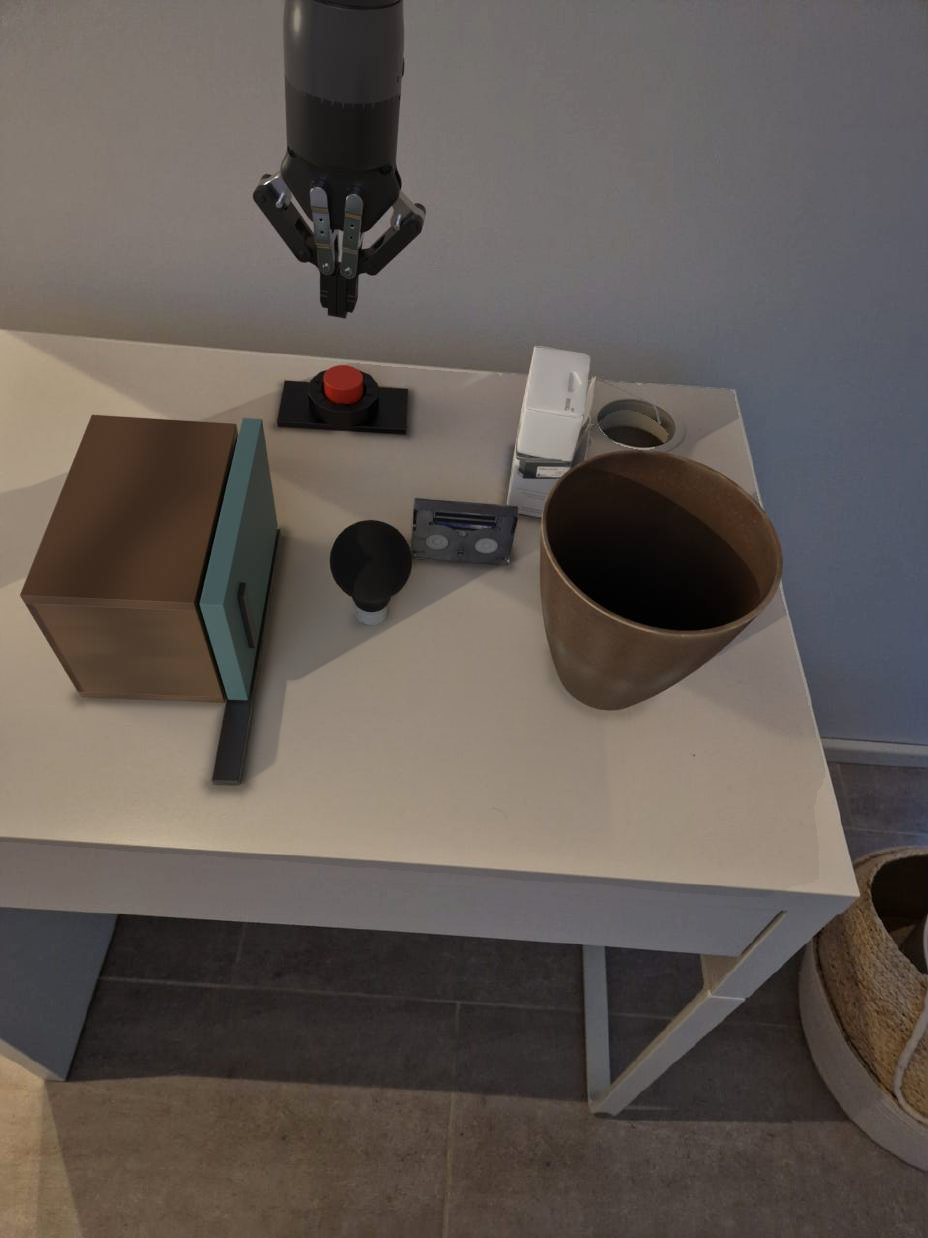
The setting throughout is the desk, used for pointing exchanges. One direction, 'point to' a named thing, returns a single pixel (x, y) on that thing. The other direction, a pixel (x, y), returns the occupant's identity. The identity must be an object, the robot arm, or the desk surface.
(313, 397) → the button box
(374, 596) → the light bulb
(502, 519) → the mini dv tape
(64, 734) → the desk surface
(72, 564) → the cabinet
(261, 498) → the door
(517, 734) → the desk surface
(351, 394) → the button
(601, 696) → the plant pot
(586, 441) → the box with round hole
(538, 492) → the ink box
